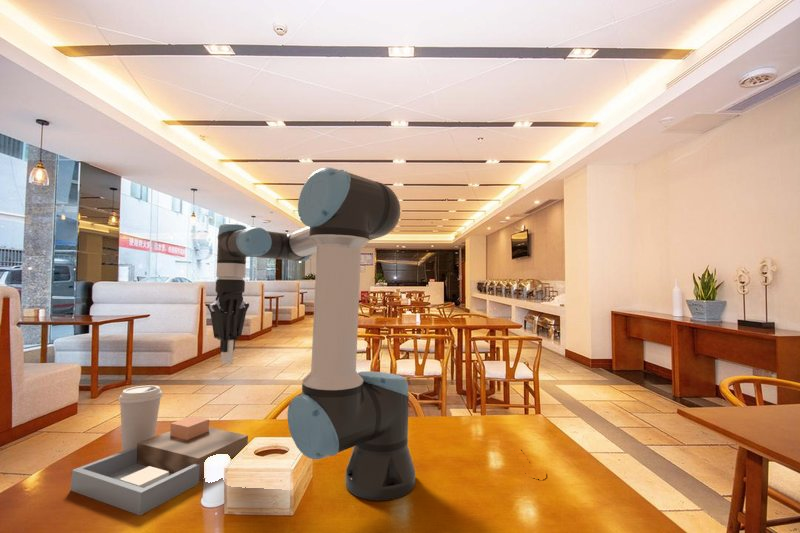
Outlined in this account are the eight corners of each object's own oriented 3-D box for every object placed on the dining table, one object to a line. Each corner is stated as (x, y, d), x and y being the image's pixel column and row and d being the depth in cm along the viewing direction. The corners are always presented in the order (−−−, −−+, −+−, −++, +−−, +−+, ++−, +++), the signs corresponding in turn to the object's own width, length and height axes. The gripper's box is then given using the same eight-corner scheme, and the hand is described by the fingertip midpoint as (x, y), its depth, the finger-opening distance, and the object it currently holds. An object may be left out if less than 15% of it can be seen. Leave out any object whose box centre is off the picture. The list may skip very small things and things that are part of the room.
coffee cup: (136, 458, 90) (140, 395, 91) (104, 454, 92) (108, 392, 93) (168, 443, 99) (172, 385, 100) (138, 439, 101) (142, 383, 102)
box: (198, 483, 79) (199, 464, 79) (139, 515, 67) (141, 492, 68) (133, 464, 87) (134, 447, 87) (70, 490, 75) (72, 470, 76)
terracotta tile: (208, 431, 95) (209, 419, 95) (187, 439, 89) (188, 427, 89) (191, 427, 97) (192, 415, 97) (170, 435, 91) (170, 423, 92)
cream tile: (139, 485, 71) (138, 501, 71) (169, 471, 77) (168, 486, 76) (119, 479, 73) (118, 494, 73) (149, 466, 79) (148, 480, 79)
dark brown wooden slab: (247, 456, 92) (248, 435, 92) (197, 482, 79) (198, 458, 79) (189, 442, 100) (190, 423, 100) (135, 464, 87) (136, 442, 87)
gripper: (238, 279, 113) (234, 358, 111) (201, 278, 101) (196, 366, 99) (257, 279, 110) (254, 360, 108) (222, 278, 98) (217, 369, 96)
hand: (226, 363), depth 104 cm, fingers closed
